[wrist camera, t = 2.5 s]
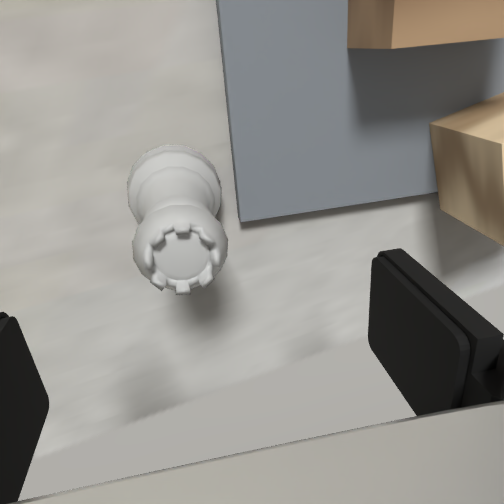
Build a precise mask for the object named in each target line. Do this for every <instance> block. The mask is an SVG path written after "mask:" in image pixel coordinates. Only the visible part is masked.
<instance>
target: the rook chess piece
mask: <svg viewBox="0 0 504 504" xmlns="http://www.w3.org/2000/svg"><path fill="white" fill-rule="evenodd" d="M127 190H128V203H129V207H130V209H131V211H132V213H133V215H134V217H135V219H136V220H137V222H138V223H139V224H140V225H139V226H138V228H137V231H136V233H135V236H134V239H133V241H132V247H133V259H134V261H135V263H136V265H137V267H138V268H139V270H140V272H141V274H142V275H144V276H145V277H146V278H148V279H149V280H150V283H152V284H153V285H154V286H156V287H157V288H158V289H160V290H161V291H162V290H163V289H164V287H165V288H168V289H172V290H176V295H187V294H191V293H190V289H192V288H194V287H197V286H199V285H201V286H202V287H203V288H206V287H207V286H208V285H209V284H210V283H211V282H212V281H213V280H214V276H215V275H216V274H217V273H218V272H219V271H220V270H221V268H222V266H223V264H224V262H225V259H226V257H227V250H228V238H227V236H226V234H225V231H224V229H223V227H222V224H221V223H220V222H219V221H218V220H217V219H216V218H215V216H216V214H217V212H218V210H219V207H220V205H221V186H220V180H219V178H218V175H217V173H216V170H215V168H214V165H213V164H212V163H211V162H210V161H209V160H208V159H207V158H206V157H205V156H204V155H203V154H202V153H201V152H198V151H196V150H194V149H191V148H189V147H187V146H184V145H162V146H160V147H157V148H155V149H152V150H150V151H147V152H146V153H145V154H144V155H143V156H142V157H141V158H140V159H139V160H138V161H137V162H136V163H135V164H134V165H133V167H132V170H131V173H130V176H129V178H128V181H127Z"/></svg>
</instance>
